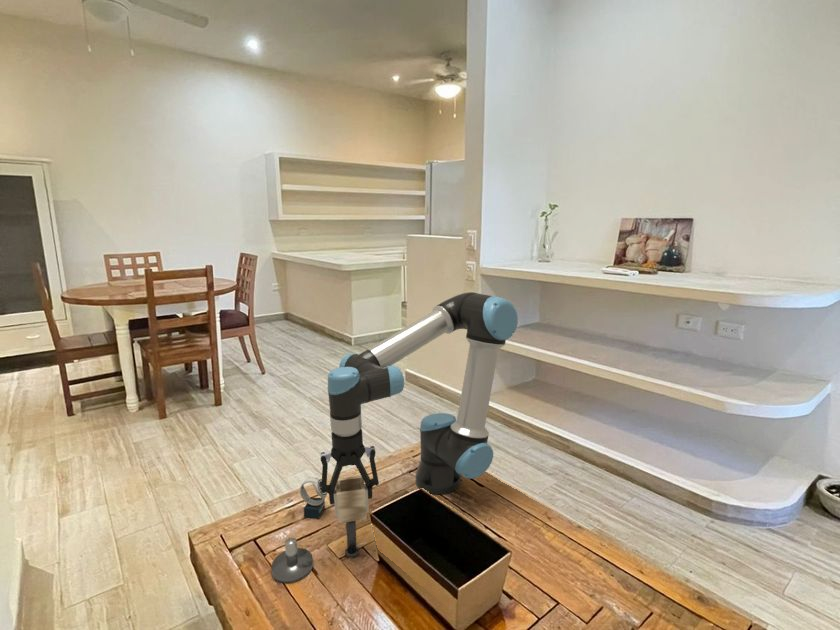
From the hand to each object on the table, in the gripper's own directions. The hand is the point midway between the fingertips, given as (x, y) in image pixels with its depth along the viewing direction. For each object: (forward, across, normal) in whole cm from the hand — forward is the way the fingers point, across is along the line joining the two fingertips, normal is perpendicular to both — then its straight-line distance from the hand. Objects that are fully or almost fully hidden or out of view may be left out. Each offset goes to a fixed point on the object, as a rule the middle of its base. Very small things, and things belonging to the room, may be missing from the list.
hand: (351, 511), depth 114 cm
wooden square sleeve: (0, 0, 0) cm, 0 cm away
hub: (+12, +16, +2) cm, 20 cm away
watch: (+12, +11, -19) cm, 25 cm away
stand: (+12, +1, 0) cm, 12 cm away
